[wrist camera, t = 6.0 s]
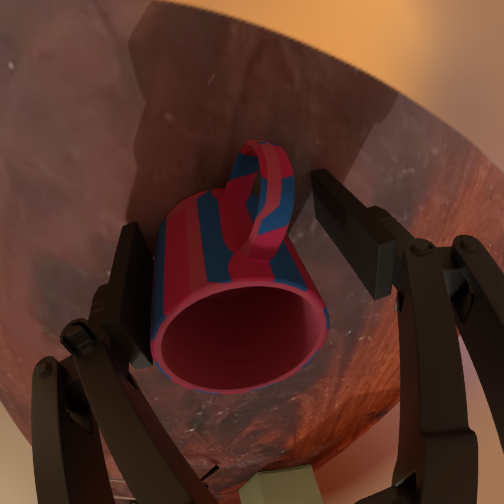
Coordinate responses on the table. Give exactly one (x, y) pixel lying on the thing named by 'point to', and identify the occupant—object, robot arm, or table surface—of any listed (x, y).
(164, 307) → the mug
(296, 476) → the bin
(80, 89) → the table surface
